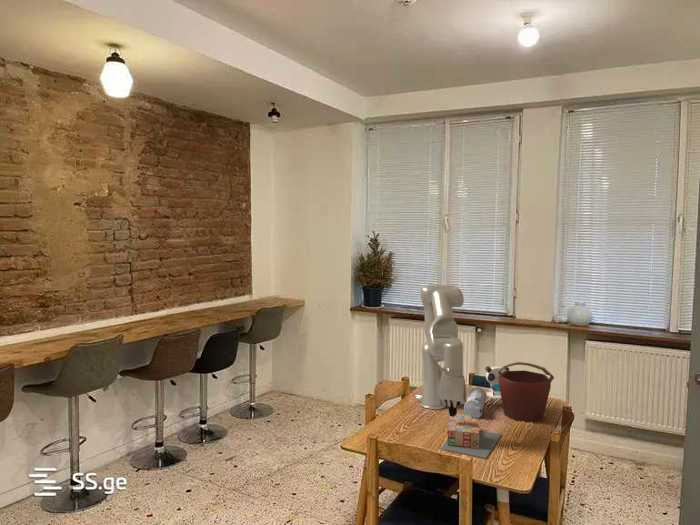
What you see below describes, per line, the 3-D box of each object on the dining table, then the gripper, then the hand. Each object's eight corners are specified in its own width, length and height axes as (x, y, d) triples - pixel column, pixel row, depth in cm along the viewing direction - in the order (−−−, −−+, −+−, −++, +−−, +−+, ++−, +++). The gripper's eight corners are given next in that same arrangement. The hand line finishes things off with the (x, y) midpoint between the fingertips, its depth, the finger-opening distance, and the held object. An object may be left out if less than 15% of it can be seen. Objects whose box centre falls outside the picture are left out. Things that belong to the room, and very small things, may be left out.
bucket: (559, 417, 241) (561, 363, 240) (538, 429, 225) (539, 373, 224) (510, 404, 258) (511, 354, 257) (487, 415, 243) (488, 362, 241)
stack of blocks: (449, 412, 228) (478, 414, 225) (449, 426, 228) (478, 428, 225) (447, 430, 207) (479, 433, 204) (447, 445, 207) (479, 448, 205)
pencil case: (482, 420, 237) (482, 399, 236) (463, 417, 240) (463, 397, 239) (486, 405, 257) (486, 386, 256) (468, 403, 260) (468, 385, 259)
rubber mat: (440, 449, 205) (440, 448, 205) (459, 427, 228) (459, 426, 228) (485, 459, 196) (485, 457, 196) (501, 435, 219) (501, 434, 219)
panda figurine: (488, 398, 268) (489, 369, 267) (482, 391, 279) (483, 364, 278) (511, 398, 268) (512, 369, 267) (505, 391, 279) (505, 364, 278)
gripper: (432, 371, 215) (432, 415, 216) (468, 376, 207) (467, 421, 208) (438, 367, 221) (438, 410, 222) (473, 372, 214) (473, 416, 215)
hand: (452, 415), depth 215 cm, fingers closed
